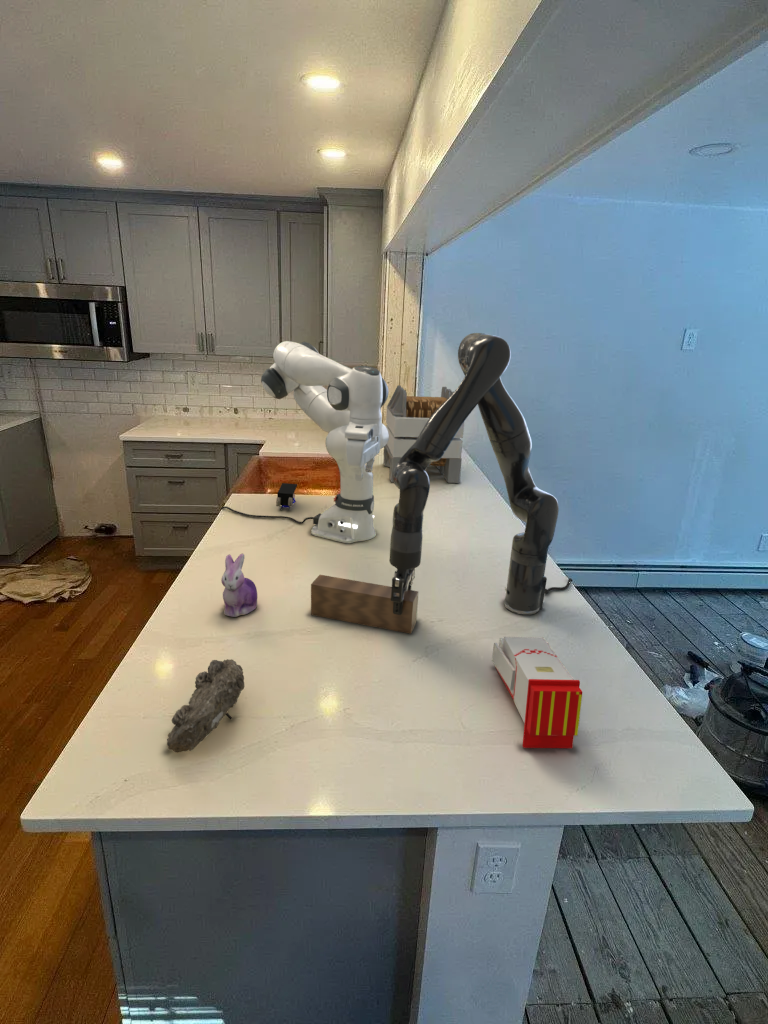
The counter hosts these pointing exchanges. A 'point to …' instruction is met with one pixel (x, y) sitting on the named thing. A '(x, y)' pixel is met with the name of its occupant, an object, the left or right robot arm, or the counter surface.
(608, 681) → the counter surface
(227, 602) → the figurine
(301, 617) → the counter surface
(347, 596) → the box
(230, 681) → the fossil
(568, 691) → the toy
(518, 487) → the right robot arm
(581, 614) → the counter surface
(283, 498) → the figurine character
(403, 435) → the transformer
